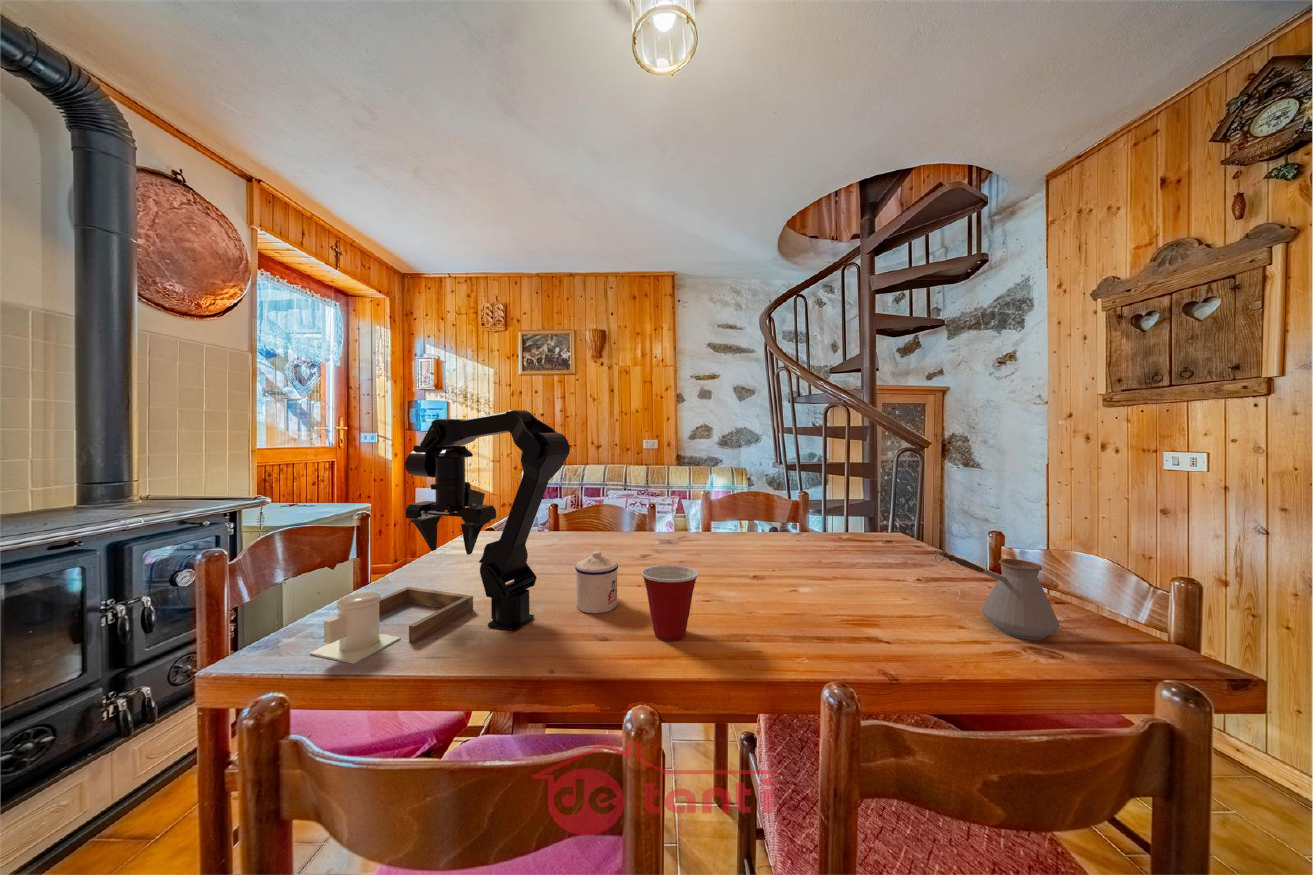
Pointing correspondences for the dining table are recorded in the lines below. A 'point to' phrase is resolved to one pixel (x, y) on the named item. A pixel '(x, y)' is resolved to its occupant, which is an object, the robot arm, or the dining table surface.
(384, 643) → the pad
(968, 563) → the coffee pot
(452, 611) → the cradle
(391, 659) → the dining table surface
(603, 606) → the teacup with lid
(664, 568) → the plastic cup
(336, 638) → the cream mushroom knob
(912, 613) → the dining table surface
